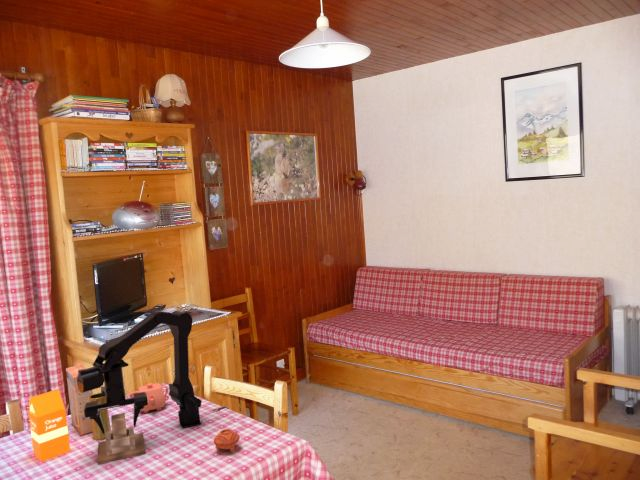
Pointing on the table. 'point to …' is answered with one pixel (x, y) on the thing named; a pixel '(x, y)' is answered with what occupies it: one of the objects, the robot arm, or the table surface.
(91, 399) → the vase
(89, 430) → the cracker box
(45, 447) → the orange juice
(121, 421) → the peg
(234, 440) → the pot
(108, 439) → the well
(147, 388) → the teapot
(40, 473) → the table surface
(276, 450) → the table surface
